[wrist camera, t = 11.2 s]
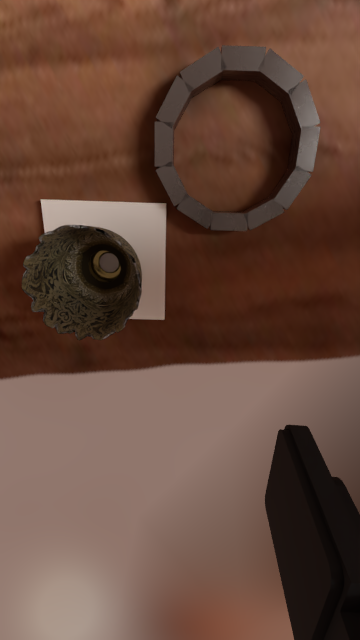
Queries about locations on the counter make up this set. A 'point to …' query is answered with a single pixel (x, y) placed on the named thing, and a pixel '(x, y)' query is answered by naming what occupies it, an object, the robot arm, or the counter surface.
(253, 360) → the counter surface
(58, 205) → the stone coaster
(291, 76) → the stone ring
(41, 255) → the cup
